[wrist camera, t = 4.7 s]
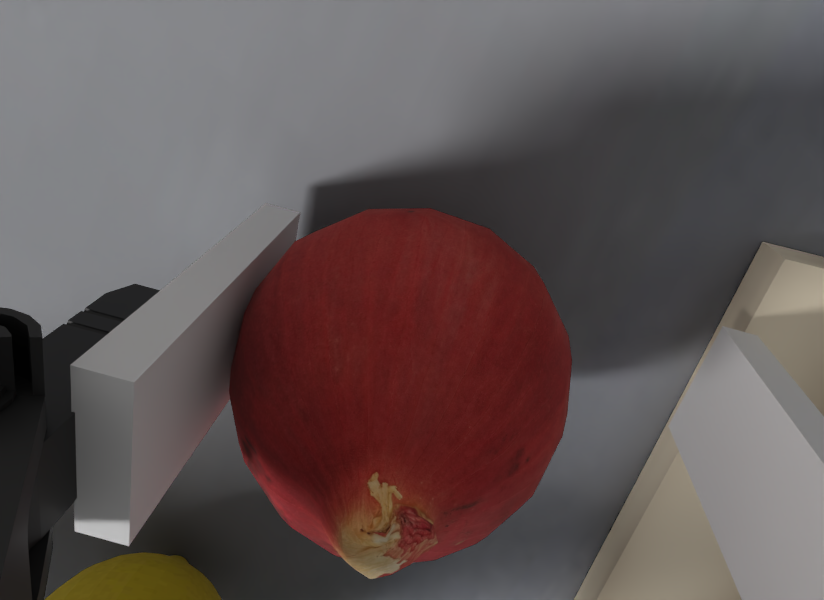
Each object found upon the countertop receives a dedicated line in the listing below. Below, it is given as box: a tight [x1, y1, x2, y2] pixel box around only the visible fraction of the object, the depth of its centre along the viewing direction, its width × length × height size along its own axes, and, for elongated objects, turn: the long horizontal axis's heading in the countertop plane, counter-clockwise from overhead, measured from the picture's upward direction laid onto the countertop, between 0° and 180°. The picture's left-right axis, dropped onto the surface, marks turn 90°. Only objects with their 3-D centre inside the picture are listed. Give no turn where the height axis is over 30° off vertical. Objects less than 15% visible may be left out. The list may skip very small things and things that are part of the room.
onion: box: [229, 208, 572, 579], centre depth 10 cm, size 6×6×8 cm
